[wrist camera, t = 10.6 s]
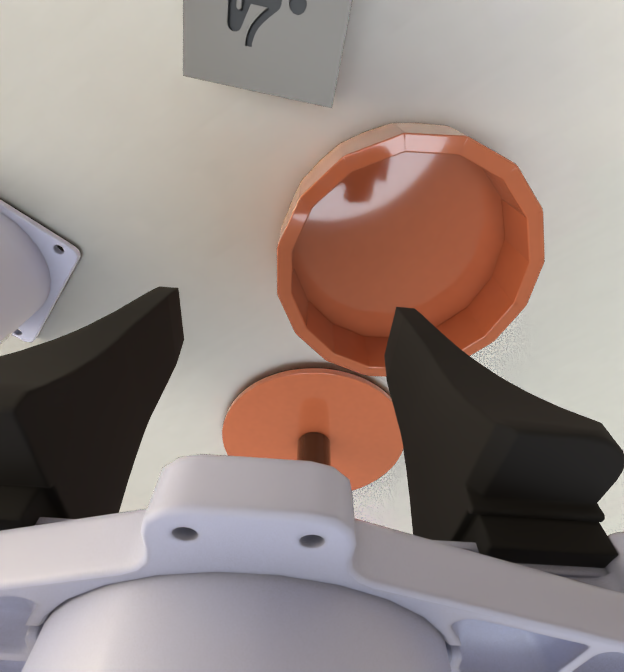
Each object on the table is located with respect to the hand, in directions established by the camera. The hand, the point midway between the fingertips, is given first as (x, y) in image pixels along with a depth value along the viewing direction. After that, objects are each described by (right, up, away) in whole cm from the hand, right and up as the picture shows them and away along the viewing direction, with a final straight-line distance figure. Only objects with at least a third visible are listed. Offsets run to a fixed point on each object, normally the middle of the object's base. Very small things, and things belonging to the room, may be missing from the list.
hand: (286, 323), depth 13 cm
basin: (+5, +4, +8) cm, 11 cm away
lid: (+1, -8, +16) cm, 18 cm away
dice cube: (0, +13, +3) cm, 13 cm away
